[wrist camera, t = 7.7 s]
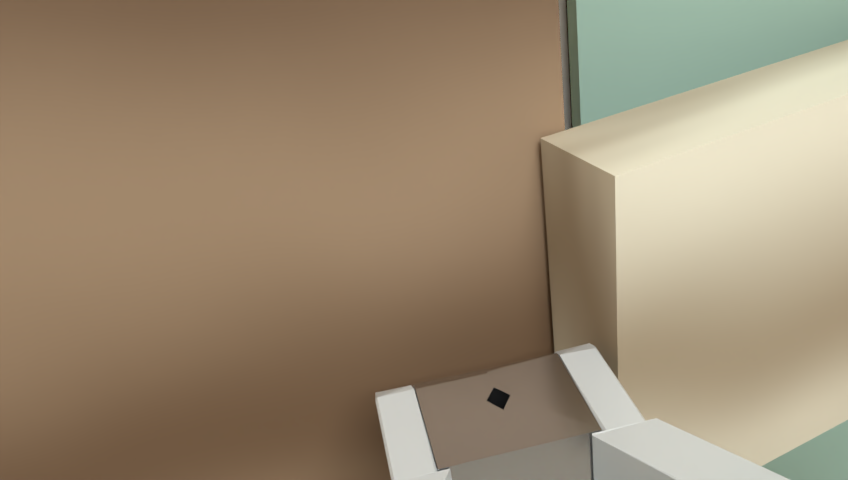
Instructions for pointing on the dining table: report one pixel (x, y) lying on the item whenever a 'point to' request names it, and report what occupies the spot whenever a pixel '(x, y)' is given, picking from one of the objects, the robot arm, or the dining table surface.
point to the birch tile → (713, 252)
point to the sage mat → (692, 68)
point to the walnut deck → (261, 225)
